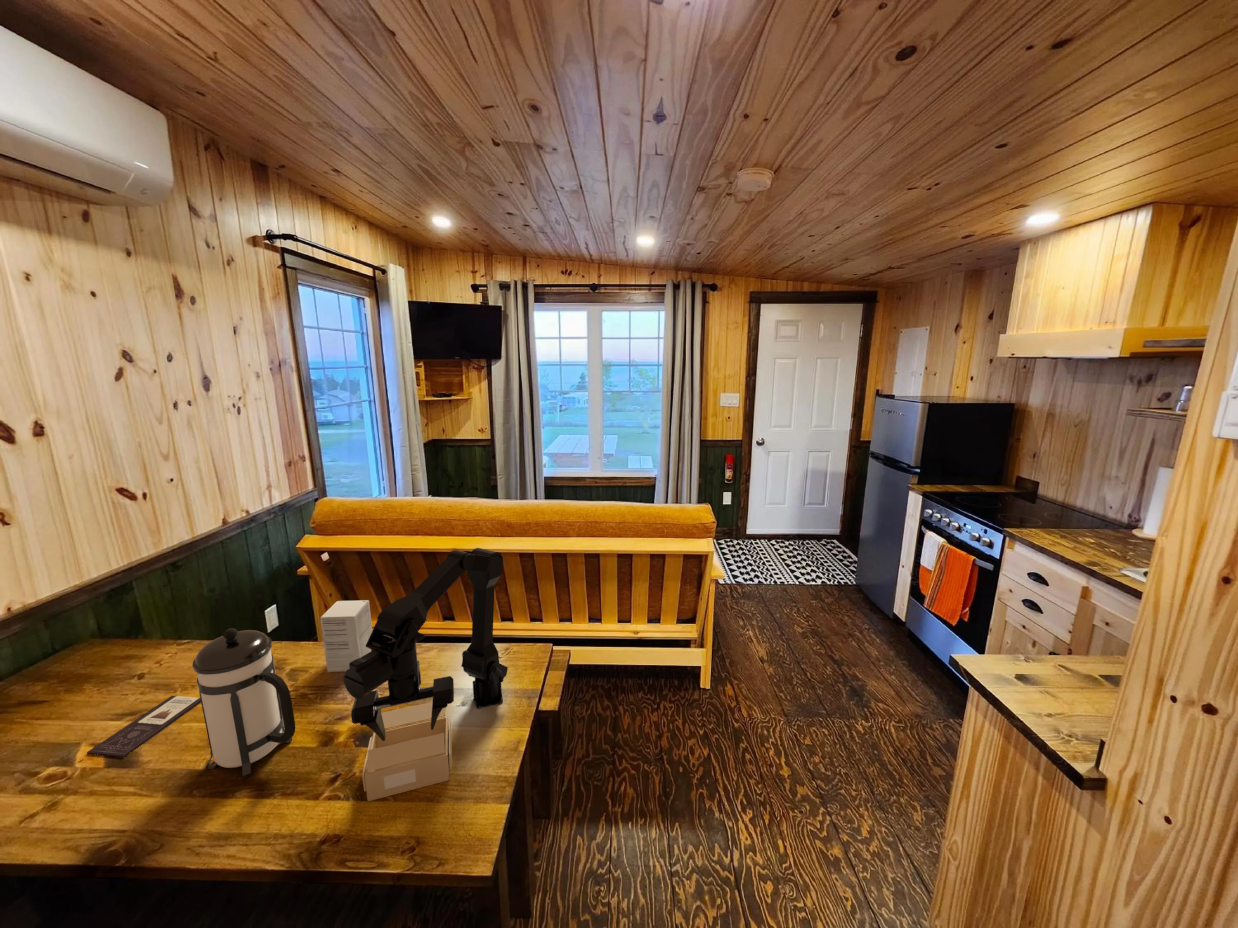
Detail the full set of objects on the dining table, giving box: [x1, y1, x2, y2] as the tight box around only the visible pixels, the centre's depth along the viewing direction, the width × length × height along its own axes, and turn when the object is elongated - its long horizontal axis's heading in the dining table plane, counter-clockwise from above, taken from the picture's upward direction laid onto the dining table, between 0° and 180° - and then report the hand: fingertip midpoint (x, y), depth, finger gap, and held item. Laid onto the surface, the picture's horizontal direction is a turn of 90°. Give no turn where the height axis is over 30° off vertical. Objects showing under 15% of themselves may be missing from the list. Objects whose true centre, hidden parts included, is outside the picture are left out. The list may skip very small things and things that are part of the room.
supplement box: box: [319, 599, 373, 673], centre depth 133 cm, size 10×9×17 cm
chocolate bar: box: [86, 695, 201, 758], centre depth 110 cm, size 9×1×18 cm
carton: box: [361, 715, 453, 802], centre depth 98 cm, size 16×12×6 cm
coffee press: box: [192, 627, 296, 779], centre depth 99 cm, size 17×16×30 cm
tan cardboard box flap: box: [381, 701, 446, 730], centre depth 104 cm, size 14×4×1 cm, turn 109°
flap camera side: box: [367, 733, 445, 771], centre depth 93 cm, size 14×4×1 cm
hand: (408, 733), depth 98 cm, fingers open, 9 cm apart
